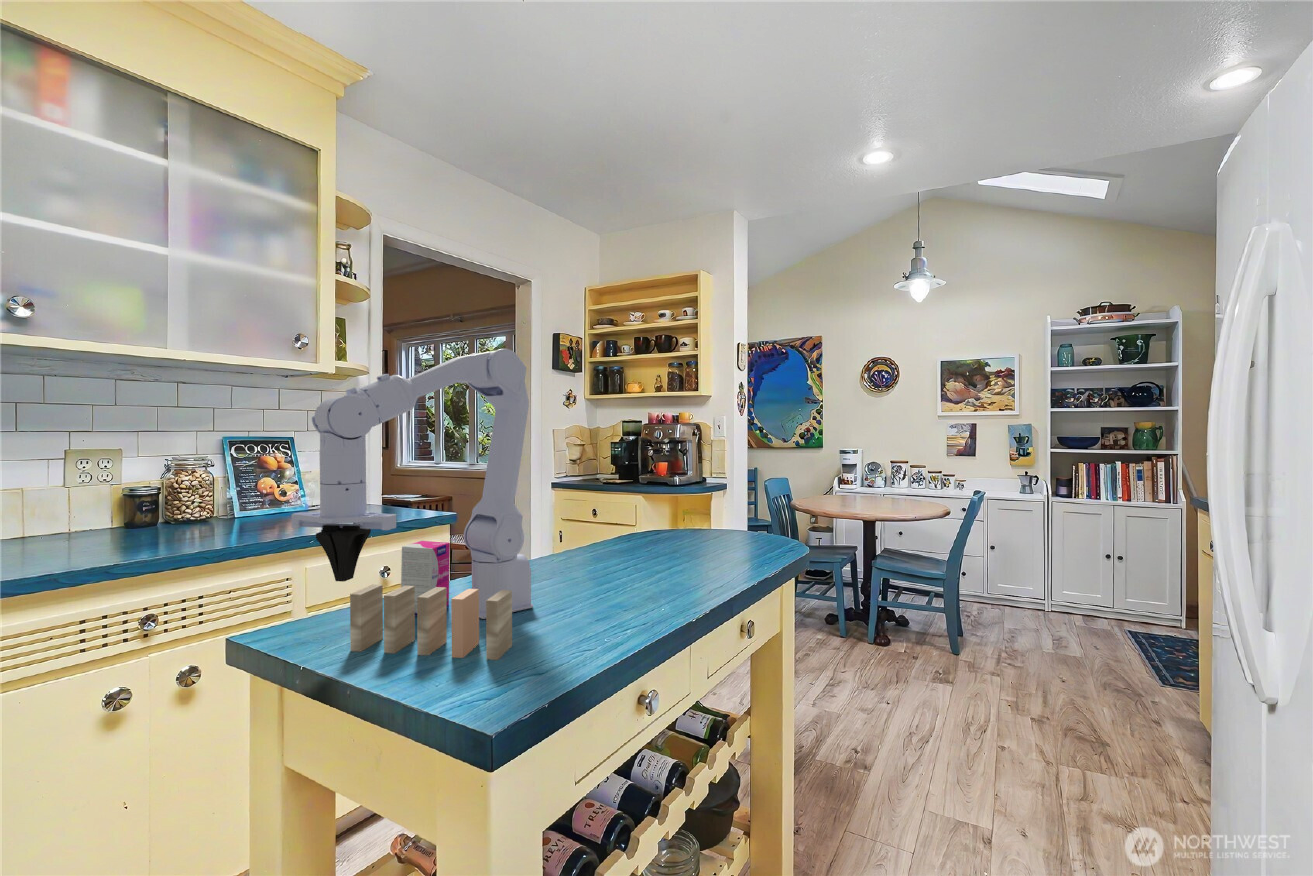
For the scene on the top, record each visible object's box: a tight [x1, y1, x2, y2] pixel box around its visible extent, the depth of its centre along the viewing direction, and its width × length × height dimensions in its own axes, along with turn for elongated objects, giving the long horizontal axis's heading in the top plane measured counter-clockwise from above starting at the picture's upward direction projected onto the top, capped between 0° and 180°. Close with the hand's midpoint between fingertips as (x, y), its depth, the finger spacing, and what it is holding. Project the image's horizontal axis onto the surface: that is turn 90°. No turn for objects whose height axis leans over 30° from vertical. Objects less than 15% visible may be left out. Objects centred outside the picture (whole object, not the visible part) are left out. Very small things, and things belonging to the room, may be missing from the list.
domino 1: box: [349, 584, 384, 653], centre depth 83 cm, size 2×5×8 cm, turn 172°
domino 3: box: [416, 587, 448, 656], centre depth 82 cm, size 2×5×8 cm, turn 172°
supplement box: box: [400, 540, 451, 617], centre depth 99 cm, size 6×6×12 cm
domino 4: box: [450, 588, 480, 659], centre depth 81 cm, size 2×5×8 cm, turn 172°
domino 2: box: [383, 586, 416, 654], centre depth 83 cm, size 2×5×8 cm, turn 172°
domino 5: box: [485, 590, 513, 661], centre depth 81 cm, size 2×5×8 cm, turn 172°
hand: (344, 579), depth 81 cm, fingers closed
